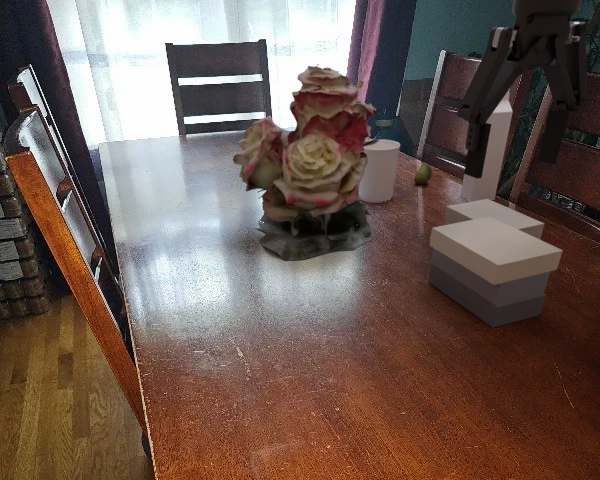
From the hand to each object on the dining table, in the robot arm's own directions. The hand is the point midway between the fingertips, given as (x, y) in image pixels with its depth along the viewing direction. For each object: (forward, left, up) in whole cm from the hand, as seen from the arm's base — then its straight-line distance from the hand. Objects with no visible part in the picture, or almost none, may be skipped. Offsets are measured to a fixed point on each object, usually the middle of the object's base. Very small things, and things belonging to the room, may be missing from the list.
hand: (510, 168), depth 72 cm
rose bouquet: (+37, +15, -20) cm, 44 cm away
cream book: (0, +1, -13) cm, 13 cm away
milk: (+41, -30, -20) cm, 54 cm away
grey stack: (0, +1, -20) cm, 20 cm away
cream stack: (+17, -14, -20) cm, 29 cm away
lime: (+57, -25, -20) cm, 65 cm away
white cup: (+53, -9, -20) cm, 57 cm away
